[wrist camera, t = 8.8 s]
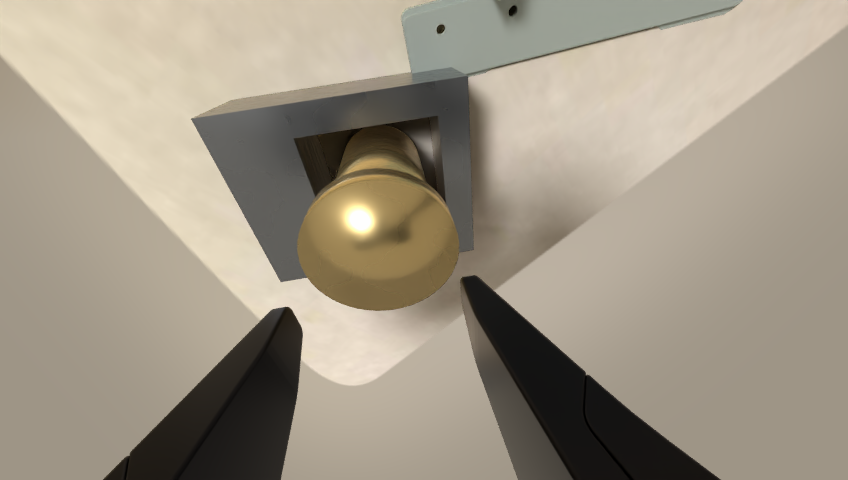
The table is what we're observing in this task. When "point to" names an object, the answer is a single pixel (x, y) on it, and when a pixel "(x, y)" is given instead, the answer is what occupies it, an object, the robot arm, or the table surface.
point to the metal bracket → (532, 28)
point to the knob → (378, 227)
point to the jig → (303, 157)
